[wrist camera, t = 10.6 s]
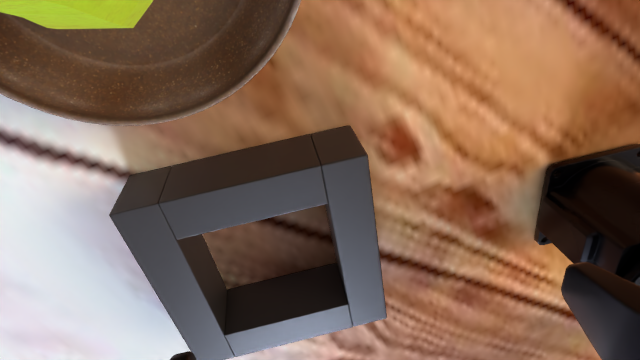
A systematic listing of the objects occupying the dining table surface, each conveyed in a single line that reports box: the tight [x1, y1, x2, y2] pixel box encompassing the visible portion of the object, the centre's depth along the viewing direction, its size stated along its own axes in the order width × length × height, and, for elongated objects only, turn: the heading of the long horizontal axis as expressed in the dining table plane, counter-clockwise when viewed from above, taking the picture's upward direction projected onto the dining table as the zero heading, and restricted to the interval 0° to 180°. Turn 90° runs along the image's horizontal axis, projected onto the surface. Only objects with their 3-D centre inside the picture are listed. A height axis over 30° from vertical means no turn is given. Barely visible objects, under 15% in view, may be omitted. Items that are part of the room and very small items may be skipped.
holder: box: [109, 126, 387, 360], centre depth 21 cm, size 12×12×4 cm
